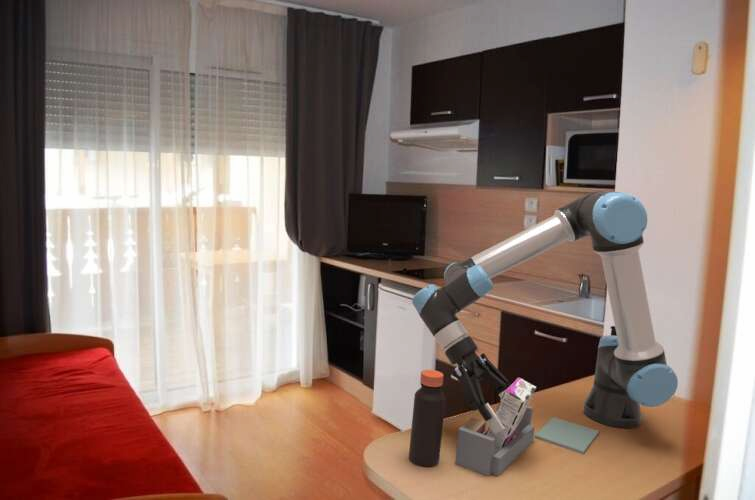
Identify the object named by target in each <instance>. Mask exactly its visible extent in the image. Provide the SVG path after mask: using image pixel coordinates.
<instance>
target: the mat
mask: <svg viewBox="0 0 755 500" xmlns="http://www.w3.org/2000/svg"><path fill="white" fill-rule="evenodd" d="M599 433H600V431H599V430H597V429H593V428H589V427H587V426H583V425H581V424H578V423H574V422H570V421H567V420H564V419H561V418H557V417H555V416H553V417H552V418H551V419H549V421H548V422H546V424H545V425H543V426H542V427H541V428H540V429H539V430H538V431H537V432H536V433H534V439H535V438H536V439H538V440H540V441H541V440H542V441H544V442H547V443H550V444H553V445H555V446H558V447H561V448H562V447H563V448H565V449H568V450H570V451H574V452H577V453H580V454H582V455H583V454H584V453H585V452H586V451H587V450H588V449H589V447H590V446H591V445H592V443H593V442H594V440H595V439H596V438H597V436H598V435H599Z"/></svg>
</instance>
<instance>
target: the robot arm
mask: <svg viewBox="0 0 755 500" xmlns="http://www.w3.org/2000/svg"><path fill="white" fill-rule="evenodd" d="M647 225H648V213H647V210H646V208H645V205H643V203H642V202H641V201H640V200H639V199H638V198H636V197H635V196H633V195H631V194H627V193H625V192H620V191H602V190H601V191H597V190H596V191H592V192H591V191H590V192H589V193H587V194H584V195H581V196H580V197H578V198H576V199H574V200H572V201H570V202H569V203H567V204H565V205H563V206H561V207H560V208H558V209H555V210H554V214H553V215H552V216H550V217H548V218H546V219H544V220H542V221H540V222H537V223H536V224H535V225H532V226H530V227H528V228H526V229H524V230H522V231H520V232H517V234H515V235H513V236H511V237H508V238H507V239H505V240H503V241H501V242H498V243H497V244H495V245H493V246H491V247H489V248H487V249H485V250H483V251H480V252H478V253H477V254H474V255H473V256H471V257H469V258H467V259H465V260H462V261H461V262H453V263H452V262H451V263H450V264H449V265H447V267H446V268H445V270H444V272H443V277H444V281H445V282H444V283H445V284H444V285H443V286H442V287H437V286H436V284H433V283H432V284H430V285H429V284H428V285H427V286H425V287H423V288H421V289H420V290H419V291H418V292H416V293H415V294H414V295H413V297H412V298H411V303H412V305H413V307H414V308H415V310H416V312H417V313H418V316H419V317H420V318H421V320H422V321H423V323H424V324H425V326H426V328H427V329H428V330H429V332H430V333H431V334H432V337H434V339H435V340H436V343H437V344H438V345H439V346H440V348H441V350H442V351H443V350H444V351H445V352H444V355H445V356H446V358H447V359H448V360H449V363H450V364H452V365H456V364H457V367H455V368H454V369H453V370H452V374H454V376H455V378H456V379H457V381H458V383H459V386H460V388H461V391H462V394H463V396H464V398H465V400H466V403H467V406H468V408H469V409H470V410H472V411H473V412H474V411H477V410H478V412H479V414H480V415H481V417H482V418H483V421H486V425H487V426H488V428H489V427H490V428H491V430H492V432H493V433H494V435H495V434H497V433H498V432H500V431H502V430H503V429H505V428H504V426H503V425H502V423H501V422H500V420H499V419H498V417H497V416H496V414H495V413H496V412H494V410H493V408H492V407H491V405H490V404H489V402H487V403H486V402H485V398H484V395H483V390H482V387H481V384H480V379H482V380H483V381H485V382H486V383H487V384H488V385H490V386H491V387H492V388H493V389H495V390H496V391H497V392H499V394H498V396H499V398H500V399H502V397H503V395H504V392H505V390H506V389H507V388H509V387H510V386H511V385H512V384H511V382H510V381H509V379H508V378H507V377H506V376H505V375H504V374H502V373H503V372H501V371H500V370H499V369H498V368H497V367H496V366H495V365H494V363H492V362H491V361H490V360H489V358H488V357H487V355H486V354H485V353H484V352H483V353H481V354H479V356H478V354H477V353H476V351H477V350H478V345H477V344H476V342H475V341H474V339H473V338H472V337H471V336H470V335H469V336H468V334H469V332H468V330H466V327H464V324H462V322H461V320H460V319H459V318H458V316H457V314H458V313H460V312H462V311H463V310H464V309H466V308H467V307H469V306H471V305H473V303H475V302H477V301H478V300H480V299H481V298H484V297H485V296H486V295H487V294H489V292H491V291H492V290H493V288H494V283H493V281H492V280H491V279H492V278H494V277H497V276H498V275H500V274H502V273H505V272H507V271H509V270H511V269H513V268H515V267H517V266H519V265H521V264H522V263H525V262H527V261H529V260H530V259H533V258H535V257H536V256H539V255H541V254H542V253H545V252H547V251H549V250H551V249H552V248H554V247H557V246H559V245H561V244H563V243H565V242H571V243H574V242H576V241H578V240H580V239H582V238H587V237H590V240H591V246H592V249H593V252H594V253H596V254H597V255H599V256H600V257H601V262H602V267H603V272H604V278H605V282H606V286H607V287H606V288H607V292H608V293H607V294H608V296H609V297H608V298H609V303H610V307H611V313H612V318H613V322H614V326H615V329H616V334H617V336H612V335H611V334H610V335H607V334H606V335H603V336H601V338H600V339H599V342H598V346H597V356H596V363H595V370H594V371H595V372H594V379H593V385H592V387H591V389H590V391H589V393H588V395H587V396H586V399H585V401H584V403H583V413H584V414H585V416H587V417H588V418H590V419H591V420H593V421H595V422H598V423H600V424H603V425H606V426H610V427H615V428H623V429H632V428H637V427H640V426H641V423H642V417H643V415H642V410H641V406H644V407H648V408H649V407H650V408H655V407H660V406H662V405H665V404H666V403H667V402H669V401H670V400H671V399H672V397H673V396H674V395H675V394H676V392H677V388H678V384H679V382H678V381H679V380H678V376H677V374H676V373H675V371H674V369H673V368H672V367H671V366H669V365H668V364H667V357H666V354H665V349H664V346H663V345H662V344H660V343H659V342H658V341H656V337H655V333H654V328H653V321H652V315H651V311H650V305H649V300H648V296H647V295H648V294H647V290H646V285H645V284H646V283H645V279H644V278H645V277H644V274H643V268H642V263H641V259H640V258H641V257H640V253H639V251H640V249H641V248H642V246H643V245H644V237H643V235H644V231H645V229H647Z"/></svg>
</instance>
